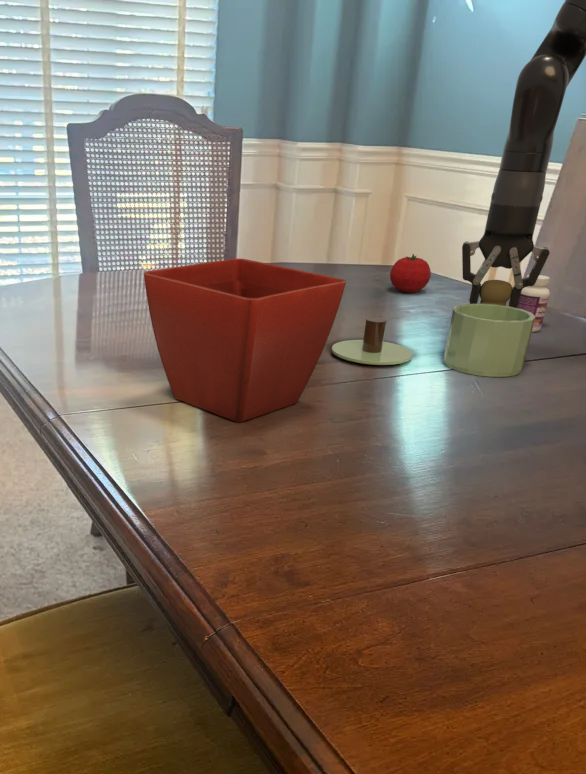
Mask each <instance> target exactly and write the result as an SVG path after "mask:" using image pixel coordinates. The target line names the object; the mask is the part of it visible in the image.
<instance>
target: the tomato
mask: <svg viewBox="0 0 586 774" xmlns="http://www.w3.org/2000/svg"><path fill="white" fill-rule="evenodd" d="M431 272H432V271H431V267H430V265H429V263H428V262H427V260H424V259H423V258H421V257H417V255H415V254H414V253H412V256H406V255H405V256H404V257H402V258H399V259H398V260H396V262H394V263H393V265H392V266H391V269H390V272H389V279H390V280H389V281H390V282H391V285H392V286H393V287H394V288H395V289H396V290H398V291H399V292H402V293H407V294H412V293H413V294H414V293H416V292H419V291H421V290H422V289H424V288H425V287H426V286H427V285H428V284H429V282H430V279H431V277H432V276H431V275H432V273H431Z"/></svg>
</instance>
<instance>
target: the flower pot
mask: <svg viewBox="0 0 586 774" xmlns="http://www.w3.org/2000/svg"><path fill="white" fill-rule="evenodd" d="M143 279H144V288H145V294H146V299H147V306H148V311H149V312H148V313H149V317H150V321H151V327H152V331H153V336H154V340H155V343H156V346H157V351H158V354H159V357H160V361H161V365H162V367H163V371H164V374H165V376H166V379H167V383H168V385H169V388H170V390H171V393H172V395H173V397H174V398H175V399H177V400H179V401H181V402H183V403H184V402H185V403H187V404H189V405H192V406H194V407H197V408H200V409H202V410H204V411H207V412H209V413H212V414H215V415H217V416H219V417H222V418H225V419H227V420H230V421H233V422H237V423H238V422H240V423H241V422H245V421H249V420H251V419H255V418H257V417H261V416H263V415H266V414H268V413H272V412H274V411H278V410H280V409H284V408H286V407H289V406H292V405H295V404H297V403H298V402H299V400H300V399H301V397H302V395H303V393H304V391H305V390H306V386H307V385H308V383H309V381H310V380H311V377H312V375H313V373H314V372H315V369H316V367H317V364H318V362H319V360H320V358H321V355H322V353H323V351H324V348H325V346H326V344H327V341H328V338H329V336H330V333H331V331H332V328H333V325H334V322H335V319H336V317H337V313H338V311H339V308H340V305H341V302H342V298H343V296H344V291H345V288H346V283H347V281H346V279H343V278H338V277H333V276H328V275H323V274H319V273H314V272H310V271H305V270H300V269H295V268H292V267H291V268H290V267H286V266H280V265H277V264H271V263H268V262H267V263H266V262H262V261H257V260H252V259H247V258H229V259H222V260H221V259H220V260H215V261H208V262H201V263H195V264H187V265H180V266H174V267H167V268H160V269H152V270H147V271H144V272H143Z"/></svg>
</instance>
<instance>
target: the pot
mask: <svg viewBox="0 0 586 774" xmlns="http://www.w3.org/2000/svg"><path fill="white" fill-rule="evenodd" d="M534 321H535V316H534V315H533V314H532V313H531V312H528V311H526V310H523V309H519V308H514V307H509V305H506V306H503V305H496V304H480V303H477V304H470V303H464V304H459V305H456V306H455V307H453V308H452V313H451V317H450V324H449V328H448V332H447V333H448V334H447V339H446V342H445V343H446V344H445V349H444V354H443V364H444V365H445V366H446V367H448V368H450V369H452V370H454V371H457V372H460V373H463V374H468V375H473V376H480V377H489V378H508V377H513V376H517V375H519V374H520V373H522V370H523V367H524V364H525V362H526V357H527V353H528V349H529V344H530V341H531V337H532V333H533V332H532V329H533V325H534Z"/></svg>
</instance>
